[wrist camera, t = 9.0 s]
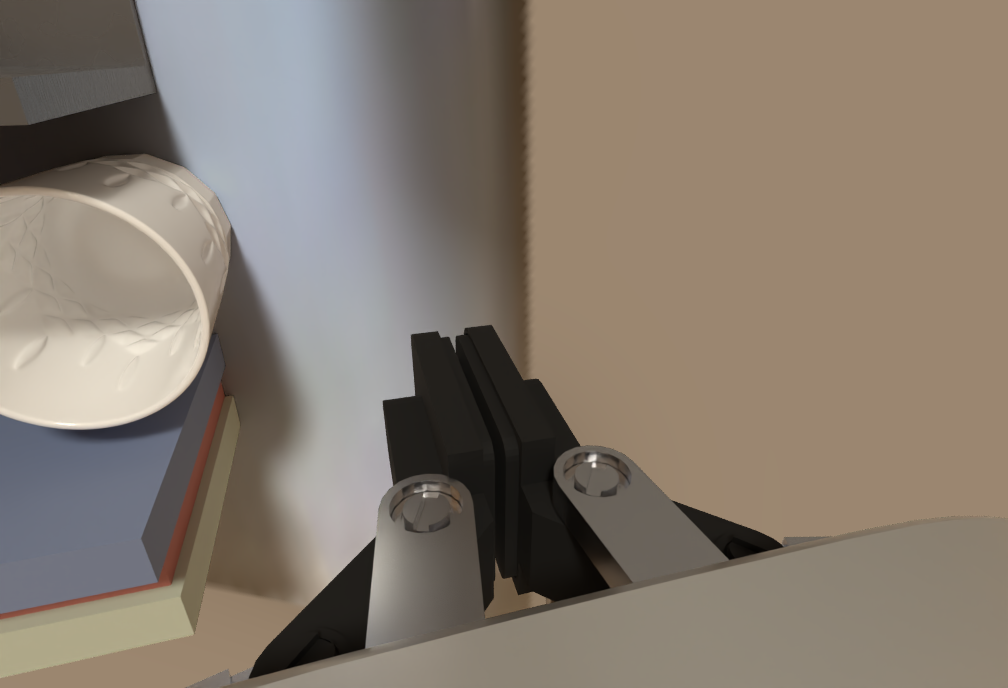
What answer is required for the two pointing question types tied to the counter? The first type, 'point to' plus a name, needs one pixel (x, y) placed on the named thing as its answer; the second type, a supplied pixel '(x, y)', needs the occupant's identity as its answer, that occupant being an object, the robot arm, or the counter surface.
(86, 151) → the counter surface
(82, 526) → the book row
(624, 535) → the robot arm
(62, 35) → the bookend
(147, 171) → the white cup
